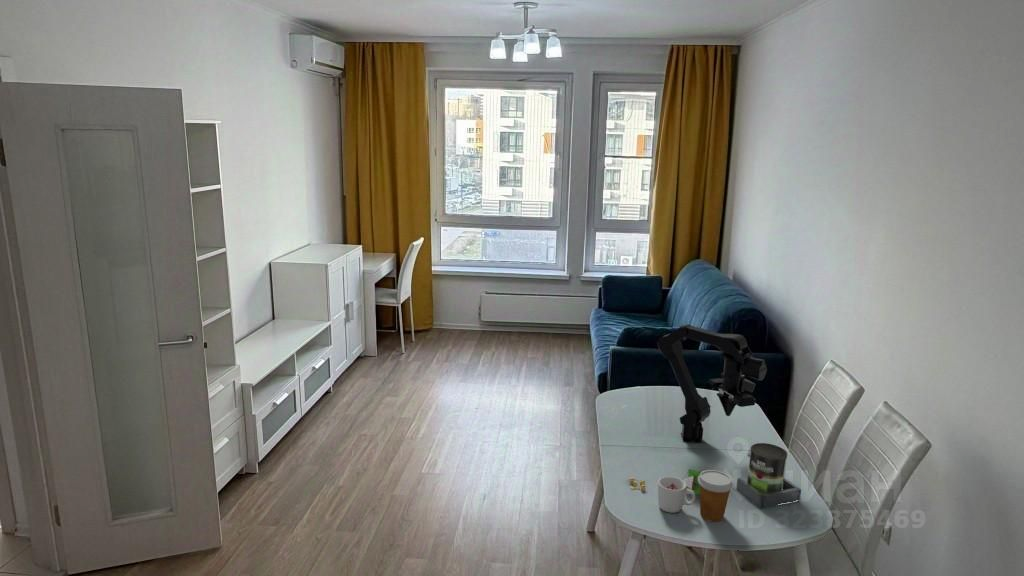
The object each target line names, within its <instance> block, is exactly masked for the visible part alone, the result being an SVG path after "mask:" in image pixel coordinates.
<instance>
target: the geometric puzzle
mask: <svg viewBox="0 0 1024 576" xmlns="http://www.w3.org/2000/svg"><path fill="white" fill-rule="evenodd" d="M701 472H702V471H698V470H695V469H690V468H689V469H688V470H687V472H686V474H685V475H684V477H683V478H682V480H683V481H684V482H685V483H686V488H687V489H690V490H692V491H694V493H695V495H699V496H700V493H699V492H700V491H699V482H698V476H700V473H701ZM686 475H687V476H686Z"/></svg>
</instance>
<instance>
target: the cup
mask: <svg viewBox="0 0 1024 576" xmlns="http://www.w3.org/2000/svg"><path fill="white" fill-rule="evenodd" d="M658 479H659V480H657V494H658V495H657V497H658V498H657V501H658V506H659V508H660V509H661V510H662V511H664V512H667V513H671V514H675V513H678V512H680V511H681V510H682V508H683V506H692V505H694V504H695V501H696V495H697V494H695V493H694V491H692V490H690V489H687V488H686V487H687V486H686V483H685V482H684V481H683V479H682V478H681V479H680V478H678V477H675V476H663V477H660V478H658ZM689 494H690V495H691V496H692V499H691V500H690V501H688V499H687V498H686V496H687V495H689Z"/></svg>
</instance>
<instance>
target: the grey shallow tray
mask: <svg viewBox="0 0 1024 576" xmlns="http://www.w3.org/2000/svg"><path fill="white" fill-rule="evenodd" d="M782 489H783V490H781V491H776V492H771V493H765V494H762V493H760V492H759V491H758V490H756V489H755V488H754V487H752V486H751V485H750V484H748V483H747V481H745V480H744V479H743V478H742V477H737V479H736V489H735V490H736V491H737V492H739V493H740V494H741V495H743V497H745V499H747V500H749V501H750V502H751V503H752V504H753V505H755V506H756V507H758V509H759V510H762V509H763V510H764V509H767V508H773V507H772V506H774V507H777V506H776V505H778V504H781V503H787V502H793V501H796V500H800V501H801V493H802V488H800V487H798V486H797V485H795V484H794V483H792V482H791V481H789V479H787V478H785V477H784V480H783V487H782Z"/></svg>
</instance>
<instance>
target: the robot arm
mask: <svg viewBox="0 0 1024 576" xmlns="http://www.w3.org/2000/svg"><path fill="white" fill-rule="evenodd" d="M687 338H688V339H691V340H694V341H697V342H701V343H704V344H707V345H711V346H714V347H716V348H717V349H719V350H720V351H722V353H721V354H719V355H718V357H719V358H721V359H724V365H723V372H722V373H720V378H719V377H718V378H711V379H709V380H708V381H707V383H706V388H708V389H710V390H711V391H712V390H714V389H715V387H716V388H718V389H717V390H718V393H716V397H718V399H719V401H720V404H721V407H722V408H723V411H724V413H725V416H726V417H731V414H732V413H733V411H734V409H735V408H736V406H738V407H740V408H743V407H752V406H755V405H756V398H755V397H754V396H753V395H751V394H749V393H748V392H750V393H753V392H754V390H755V387H756V385H757V384H756V383H755V382H752V381H751V380H749V379H747V378H751V379H754V380H757V381H763V380H765V376H766V375H767V371H768V368H767V364H766V363H765V362H766V360H765V359H763V358H756V357H753V356H754V354H753V352H752V350H751V349H750V347H749V345H748V341H747V339H746V337H745V336H744V335H742V334H737V333H718V332H716V331H712V330H708V329H704V328H700V327H697V326H695V325H691V324H688V323H687V324H684V325H681V326H679V327H678V328H677V329H676V330H673V332H671V333H668V334H665V335H663V336H661V337H659V338H658V340H657V347H658V349H659V351H660V353H661V354H662V356H663V357H664V358H665V359H667V360H668V361H669V364H670V366H671V369H672V371H673V373H674V375H675V378H676V380H677V383H678V385H679V387H680V390H681V392H682V394H683V398H684V401H685V402H684V409H685V413H686V414H684V415H682V416H681V417H679V421H680V425H681V426H682V428H681V432H680V436H681V439H682V442H684V443H685V442H686V443H699V444H700V443H701V444H702V439H703V438H704V437H703V436H704V435H703V434H704V427H703V424H702V422H705V420H706V419H707V418H709V416H710V415H711V413H712V411H711V407H712V406H711V405H710V403H709V402H708V401H709V400H708V398H707V396H704V397H703V396H701V394H699V392H698V389H697V388H696V385H695V383H694V380H693V378H692V375H691V373H690V371H689V368H688V366H687V364H686V362H685V358H684V357H683V349H684V348H683V347H684V346H683V344H682V342H683V341H685V340H686V339H687ZM746 377H747V378H746ZM745 391H747V392H746V393H745ZM742 392H744V393H742Z"/></svg>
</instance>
